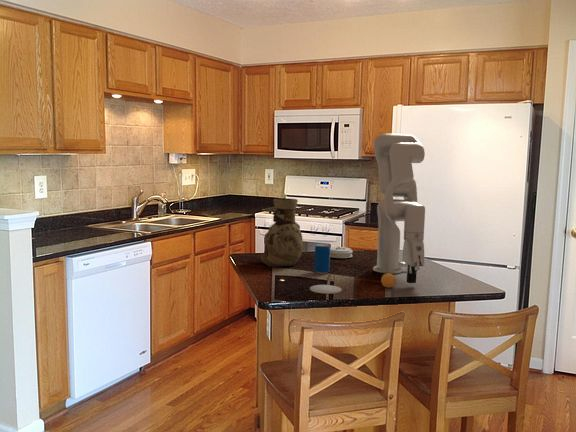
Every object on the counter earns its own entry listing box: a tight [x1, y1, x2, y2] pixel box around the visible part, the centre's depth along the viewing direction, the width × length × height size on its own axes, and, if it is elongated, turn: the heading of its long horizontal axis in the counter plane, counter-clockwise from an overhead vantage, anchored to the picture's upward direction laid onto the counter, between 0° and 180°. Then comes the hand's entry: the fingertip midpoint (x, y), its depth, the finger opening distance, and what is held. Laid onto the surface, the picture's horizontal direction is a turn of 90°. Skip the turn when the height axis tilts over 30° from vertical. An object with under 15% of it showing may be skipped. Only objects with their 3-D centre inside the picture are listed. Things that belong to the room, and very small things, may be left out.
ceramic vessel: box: [260, 198, 304, 268], centre depth 233 cm, size 19×21×30 cm
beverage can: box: [313, 243, 331, 275], centre depth 220 cm, size 6×6×12 cm
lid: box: [329, 246, 354, 259], centre depth 255 cm, size 13×13×5 cm
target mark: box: [309, 284, 343, 295], centre depth 193 cm, size 12×12×1 cm
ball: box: [380, 273, 397, 289], centre depth 198 cm, size 6×6×6 cm
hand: (411, 282), depth 200 cm, fingers closed
